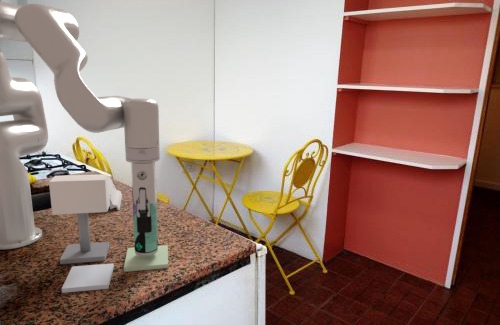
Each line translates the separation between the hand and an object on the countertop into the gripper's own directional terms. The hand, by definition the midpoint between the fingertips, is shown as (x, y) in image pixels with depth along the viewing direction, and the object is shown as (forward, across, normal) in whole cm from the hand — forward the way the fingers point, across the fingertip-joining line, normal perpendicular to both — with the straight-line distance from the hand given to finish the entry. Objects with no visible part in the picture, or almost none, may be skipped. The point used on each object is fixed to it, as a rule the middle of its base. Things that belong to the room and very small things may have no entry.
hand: (145, 226), depth 88 cm
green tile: (+9, 0, 0) cm, 9 cm away
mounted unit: (+9, +5, +15) cm, 18 cm away
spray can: (+7, 0, 0) cm, 7 cm away
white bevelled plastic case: (+9, +43, +14) cm, 46 cm away
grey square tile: (+9, -7, +12) cm, 16 cm away
